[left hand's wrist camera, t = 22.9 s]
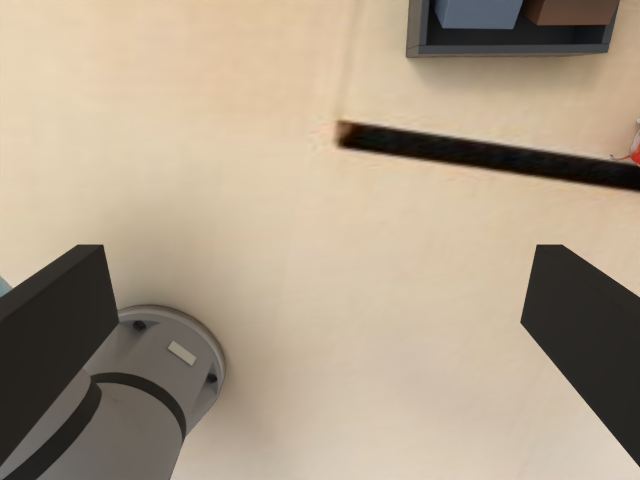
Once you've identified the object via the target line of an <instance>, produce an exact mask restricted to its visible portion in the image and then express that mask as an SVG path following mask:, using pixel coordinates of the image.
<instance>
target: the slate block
mask: <svg viewBox="0 0 640 480" xmlns="http://www.w3.org/2000/svg"><path fill="white" fill-rule="evenodd" d="M522 2H523V0H430V3H431V5H432V7H433V9H434V11H435V13H436V15H437V17H438V19H439V22H440V24H441V26H442V28H464V29H513V28H514V25H515V22H516V19H517V16H518V14H519V11H520V8H521V5H522Z"/></svg>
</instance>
